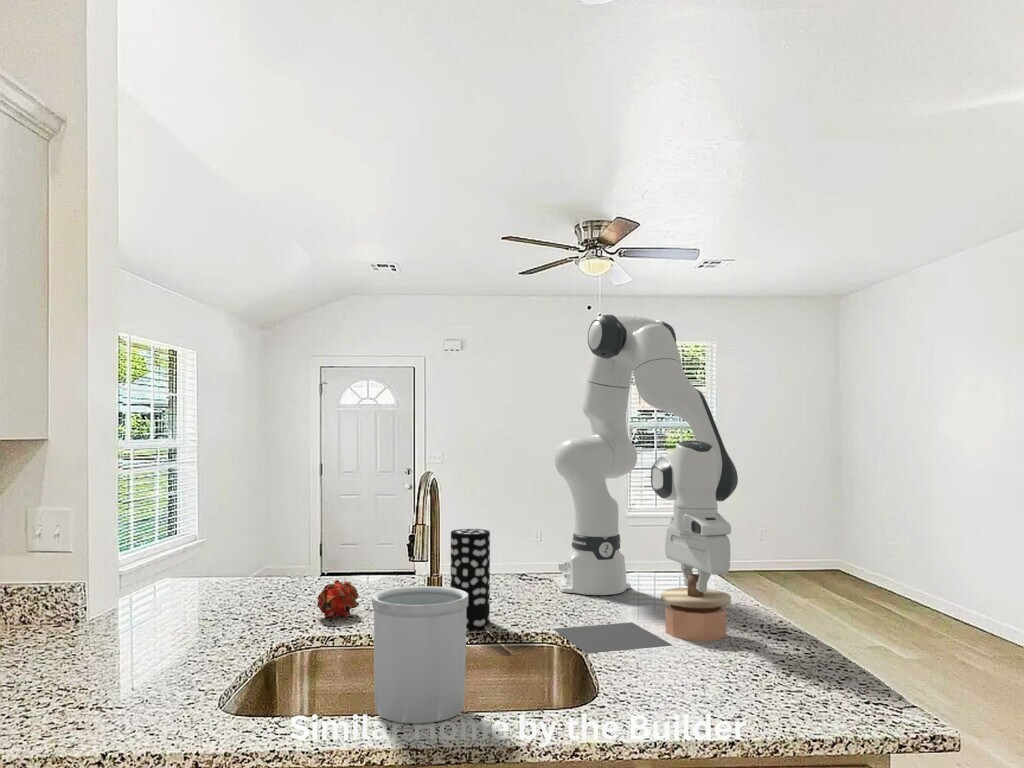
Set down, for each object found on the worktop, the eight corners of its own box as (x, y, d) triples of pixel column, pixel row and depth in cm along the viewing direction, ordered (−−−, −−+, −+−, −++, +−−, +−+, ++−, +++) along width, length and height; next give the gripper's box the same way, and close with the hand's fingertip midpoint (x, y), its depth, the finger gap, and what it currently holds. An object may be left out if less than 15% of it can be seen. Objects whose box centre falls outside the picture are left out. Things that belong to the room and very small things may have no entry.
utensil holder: (376, 692, 138) (376, 584, 139) (467, 691, 139) (468, 584, 140) (365, 727, 124) (366, 605, 124) (468, 725, 125) (468, 604, 125)
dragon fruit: (354, 617, 194) (328, 638, 183) (325, 594, 195) (298, 613, 184) (372, 589, 192) (348, 609, 180) (343, 566, 193) (317, 584, 182)
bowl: (655, 630, 177) (655, 602, 177) (706, 626, 181) (706, 598, 181) (684, 646, 166) (684, 615, 166) (737, 641, 169) (737, 611, 169)
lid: (648, 594, 178) (648, 570, 178) (707, 590, 182) (707, 567, 182) (682, 610, 165) (682, 584, 165) (744, 605, 169) (744, 580, 169)
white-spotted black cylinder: (484, 632, 175) (484, 535, 176) (445, 630, 177) (446, 533, 178) (493, 622, 184) (493, 529, 184) (456, 620, 185) (456, 528, 186)
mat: (552, 632, 175) (552, 628, 175) (631, 626, 181) (631, 622, 181) (586, 657, 158) (586, 652, 158) (672, 649, 164) (672, 645, 164)
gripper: (657, 514, 183) (657, 579, 182) (707, 528, 163) (707, 600, 163) (683, 513, 185) (683, 577, 184) (736, 527, 165) (736, 598, 165)
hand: (695, 588), depth 173 cm, fingers closed on lid, 3 cm apart
